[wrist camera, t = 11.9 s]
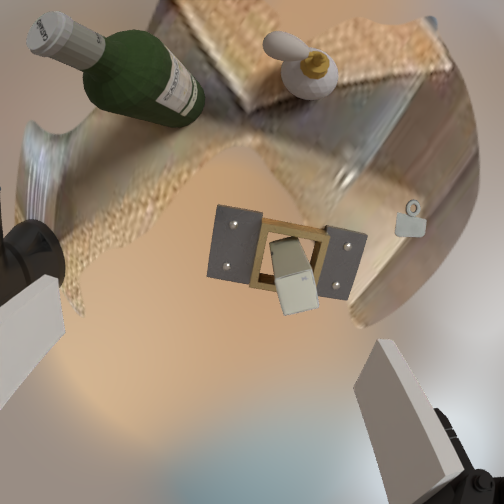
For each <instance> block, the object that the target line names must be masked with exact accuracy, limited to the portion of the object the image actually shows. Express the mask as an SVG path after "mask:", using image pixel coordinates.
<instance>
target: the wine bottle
mask: <svg viewBox="0 0 504 504" xmlns="http://www.w3.org/2000/svg"><path fill="white" fill-rule="evenodd" d="M26 44H27V47H28V48H29V49H30V50H31V52H32V53H33V54H36V55H39V56H42V57H50V58H52V59H55V60H57V61H59V62H62V63H64V64H66V65H69V66H71V67H74V68H76V69H78V70H80V71H82V72H83V84H84V89H85V92H86V94H87V96H88V98H89V100H90V101H91V102H92V103H93V104H94V105H96V106H97V107H98V108H100V109H101V110H104V111H108V112H111V113H116V114H120V115H124V116H129V117H133V118H137V119H141V120H145V121H149V122H153V123H157V124H160V125H164V126H168V127H183V126H186V125H189V124H190V123H192V122H193V121H195V120H196V119H197V117H198V116H199V115H200V114H201V112H202V110H203V108H204V104H205V94H204V90H203V88H202V87H201V85H200V84H199V83H198V81H197V80H196V79H195V78H194V77H193V76H192V75H191V73H190V72H189V71H188V70H187V69H186V68H185V67H184V66H183V65H182V63H181V62H180V61H179V60H178V59H177V58H176V57H175V56H174V55H173V54H172V53H171V52H170V50H169V49H168V48H167V47H166V46H165V45H164V44H163V43H162V42H161V41H160V40H159V39H158V38H157V37H155V36H153V35H152V34H150V33H148V32H146V31H140V30H128V31H122V32H117V33H115V34H113V35H111V36H109V37H107V38H105V37H104V36H102V35H100V34H98V33H96V32H94V31H92V30H91V29H88V28H87V27H85V26H83V25H81V24H79V23H77V22H75V21H73V20H72V19H71V17H69V16H68V15H66V14H64V13H62V12H60V11H57V12H48V13H45V14H43V15H42V16H41V17H39V18H38V19H37V20H36V21H35V23H34V24H33V25H32V27H31V29H30V31H29V33H28V36H27V42H26Z"/></svg>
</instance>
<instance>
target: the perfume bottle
mask: <svg viewBox="0 0 504 504" xmlns="http://www.w3.org/2000/svg"><path fill="white" fill-rule="evenodd" d="M263 49H264V51H265V53H266V54H267V55H268V56H270V57H272V58H274V59H277V60H281V61H284V62H283V64H282V67H281V77H282V81H283V83H284V85H285V87H286V88H287V89H288V90H289V92H291V93H292V94H294V95H295V96H296V97H299V98H302V99H304V100H317V99H321V98H323V97H326V96H328V95H329V94H330V93H331V92H332V91H333V90H334V88H335V86H336V84H337V81H338V69H337V66H336V64H335V62H334V61H333V59H332V58H331V57H330V56H329V55H328V54H326V53H325V52H323V51H321V50H319V49H315V48H311V47H308V46H307V45H306V44H305V43H304V42H303V41H301V40H300V39H299V38H297V37H296V36H294V35H292V34H289V33H286V32H282V31H275V32H271V33H269V34H268V35H267V36H266V37H265V38H264V40H263Z"/></svg>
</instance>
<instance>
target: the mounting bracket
mask: <svg viewBox="0 0 504 504" xmlns="http://www.w3.org/2000/svg"><path fill="white" fill-rule="evenodd" d="M412 204H415V205H416V206H417V209H416V211H415V212H411V210H410V206H411V205H412ZM406 212H407V214H408V215H406V214H402V213H398V212H397V220H396V229H395V234H396V235H397V236H399V237H422V236H424V234H425V229H426V220H425V219H421V218H418V217H414V216H416V215H418V213H419V212H420V204H419V202H418V201H417V200H410V201H409V202H408V203H407V205H406Z"/></svg>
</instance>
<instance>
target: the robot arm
mask: <svg viewBox="0 0 504 504" xmlns="http://www.w3.org/2000/svg"><path fill="white" fill-rule="evenodd" d="M0 190H1V187H0ZM64 277H65V260H64V255H63V251H62V249H61V246H60V244H59V242H58V240H57V238H56V236H55V235H54V233H53V232H52V231H51V230H50V229H49V227H47V226H46V225H45V224H44V223H42V222H40V221H38V220H34V219H29V220H26V221H23V222H21V223H19V224H17V225H16V226H14V228H13V229H12V230H11V231H10V232H9V233H8V234H7V235H6V236H5V238H4V239H3V230H2V219H1V203H0V410H1V409H2V407H3V406H4V405H5V403H6V402H7V401H8V400H9V398H10V397H11V396H12V395H13V393H14V392H15V391H16V389H17V388H18V387H19V386H20V385H21V383H22V382H23V381H24V379H25V378H26V377H27V376H28V374H30V372H31V371H32V370H33V369H34V368H35V366H36V365H37V364H38V363H39V362H40V360H41V359H42V358H43V357H44V356H45V355H46V354H47V352H48V351H49V350H50V349H51V348H52V347H53V346H54V345H55V343H56V342H57V341H58V340H59V339H60V338H61V337H62V336H63V335H64V334H65V327H64V321H63V315H62V308H61V301H60V293H59V288H60V286H61V285H62V283H63V280H64ZM353 389H354V392H355V395H356V398H357V401H358V403H359V407H360V410H361V413H362V416H363V419H364V422H365V425H366V428H367V431H368V434H369V437H370V441H371V444H372V447H373V450H374V453H375V457H376V460H377V463H378V466H379V470H380V473H381V477H382V480H383V484H384V487H385V491H386V494H387V497H388V502H389V504H504V477H494V478H493V477H492V476H491V475H490V473H489V472H487V471H485V470H483V469H476V470H475V469H474V468H473V466H472V464H471V462H470V460H469V458H468V456H467V454H466V452H465V450H464V448H463V446H462V444H461V442H460V441H459V438H457V435H456V433H455V431H454V430H452V426H451V424H450V422H449V420H448V418H447V417H446V416H445V415H444V414H443V413H442V412H441V411H440V410H439V409H438V408H433V407H432V405H431V404H430V402H429V400H428V398H427V396H426V395H425V393H424V391H423V390H422V388H421V386H420V384H419V383H418V381H417V379H416V378H415V376H414V374H413V372H412V371H411V369H410V367H409V366H408V364H407V362H406V361H405V359H404V357H403V356H402V354H401V352H400V351H399V349H398V348H397V346H396V344H395V343H394V341H393V340H388V339H377V340H376V343H375V345H374V347H373V349H372V351H371V353H370V355H369V358H368V360H367V362H366V364H365V366H364V368H363V370H362V372H361V374H360V376H359V377H358V379H357V381H356V383H355V385H354V387H353Z"/></svg>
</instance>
